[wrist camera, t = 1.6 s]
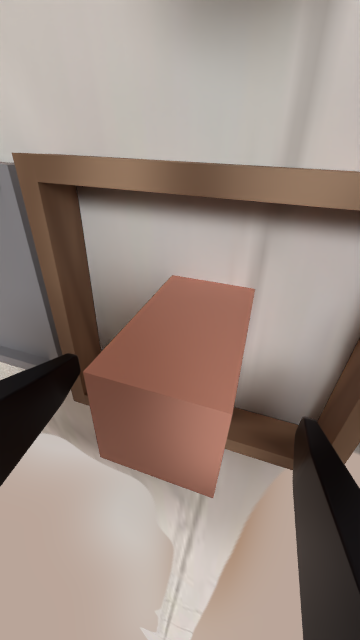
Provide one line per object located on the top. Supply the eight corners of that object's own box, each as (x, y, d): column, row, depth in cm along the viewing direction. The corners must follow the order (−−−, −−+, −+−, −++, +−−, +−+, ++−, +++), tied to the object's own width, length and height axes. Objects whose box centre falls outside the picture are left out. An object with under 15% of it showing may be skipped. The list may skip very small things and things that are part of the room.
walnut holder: (476, 178, 9) (535, 183, 7) (325, 443, 17) (332, 482, 15) (54, 154, 13) (12, 152, 11) (93, 377, 21) (73, 400, 19)
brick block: (255, 288, 13) (232, 414, 7) (240, 356, 15) (213, 498, 9) (172, 275, 14) (83, 371, 8) (170, 340, 17) (100, 457, 10)
